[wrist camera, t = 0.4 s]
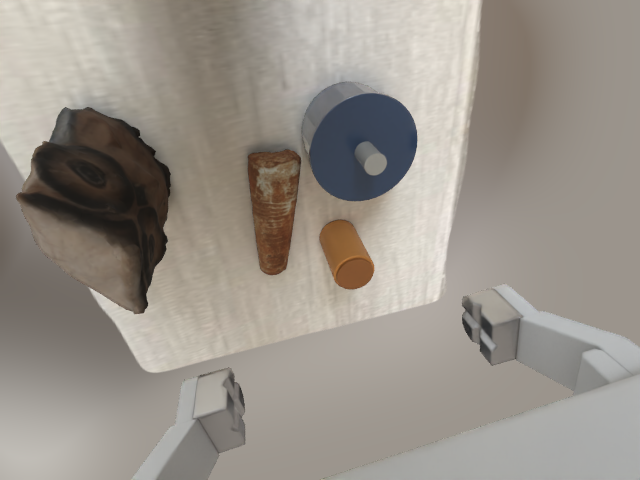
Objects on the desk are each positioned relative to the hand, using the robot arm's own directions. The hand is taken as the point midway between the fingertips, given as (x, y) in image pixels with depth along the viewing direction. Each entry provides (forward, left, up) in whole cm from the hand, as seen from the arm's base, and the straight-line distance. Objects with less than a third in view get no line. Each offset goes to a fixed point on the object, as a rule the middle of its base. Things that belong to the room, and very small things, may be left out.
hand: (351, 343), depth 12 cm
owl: (+5, -19, -37) cm, 42 cm away
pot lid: (+6, +9, -29) cm, 31 cm away
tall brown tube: (+22, +6, -37) cm, 43 cm away
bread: (+15, -2, -37) cm, 40 cm away
